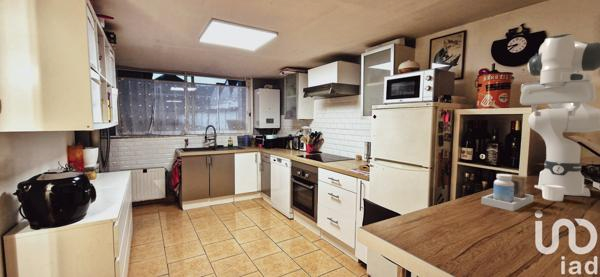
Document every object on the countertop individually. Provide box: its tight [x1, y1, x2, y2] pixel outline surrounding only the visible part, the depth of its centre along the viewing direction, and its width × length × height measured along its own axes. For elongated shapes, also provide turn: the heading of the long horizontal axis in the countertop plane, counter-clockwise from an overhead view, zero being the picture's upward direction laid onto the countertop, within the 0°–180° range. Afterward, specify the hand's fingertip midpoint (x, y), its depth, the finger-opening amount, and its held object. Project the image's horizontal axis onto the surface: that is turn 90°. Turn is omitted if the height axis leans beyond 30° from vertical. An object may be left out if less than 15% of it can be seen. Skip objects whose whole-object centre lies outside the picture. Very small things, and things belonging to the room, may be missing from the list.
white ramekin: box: [541, 184, 565, 202], centre depth 105 cm, size 7×7×7 cm
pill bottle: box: [493, 173, 514, 203], centre depth 98 cm, size 6×6×11 cm
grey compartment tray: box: [480, 193, 535, 212], centre depth 101 cm, size 20×10×4 cm, turn 123°
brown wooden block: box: [507, 173, 527, 198], centre depth 103 cm, size 6×6×10 cm
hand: (553, 116), depth 97 cm, fingers open, 8 cm apart
